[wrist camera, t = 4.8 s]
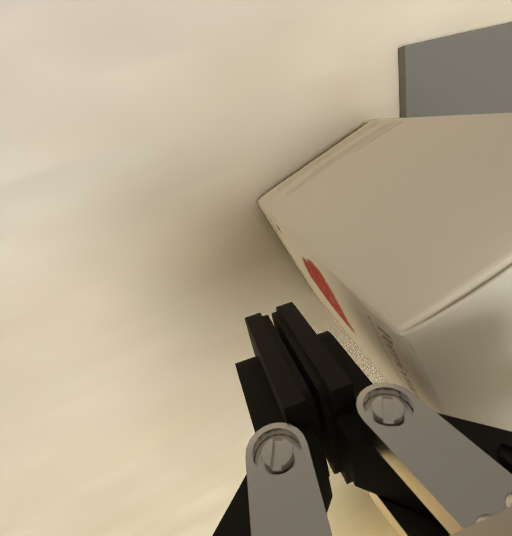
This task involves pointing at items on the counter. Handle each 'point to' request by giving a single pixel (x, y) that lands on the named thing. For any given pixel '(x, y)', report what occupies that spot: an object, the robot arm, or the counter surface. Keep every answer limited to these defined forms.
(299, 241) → the supplement box
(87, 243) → the counter surface
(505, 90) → the mat
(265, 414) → the robot arm
